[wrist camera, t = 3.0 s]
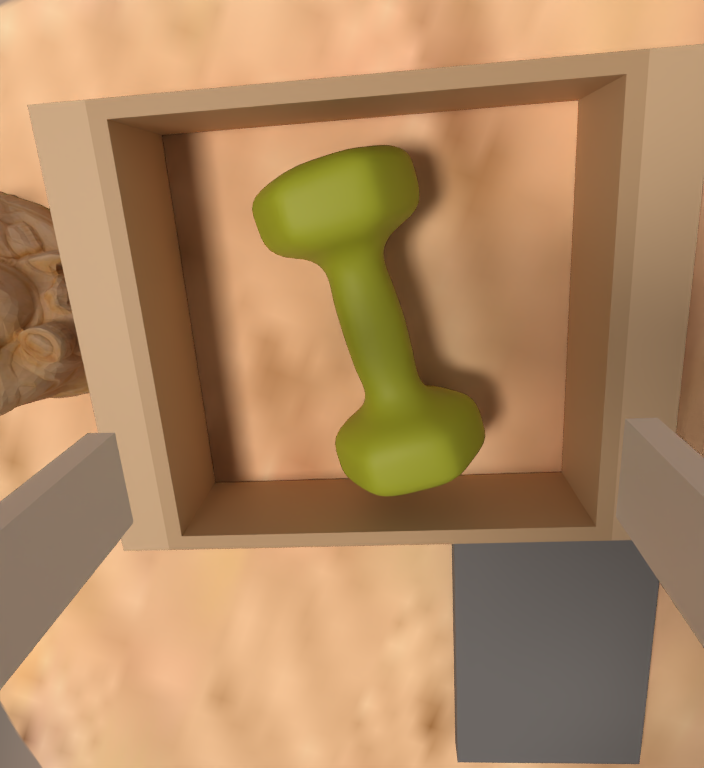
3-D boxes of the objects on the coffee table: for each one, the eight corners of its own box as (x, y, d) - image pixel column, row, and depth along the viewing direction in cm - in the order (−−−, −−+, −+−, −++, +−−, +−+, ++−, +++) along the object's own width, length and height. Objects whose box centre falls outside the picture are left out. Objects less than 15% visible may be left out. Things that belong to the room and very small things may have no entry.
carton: (166, 495, 36) (123, 550, 30) (97, 123, 30) (27, 104, 24) (618, 482, 34) (664, 539, 28) (650, 75, 27) (718, 42, 22)
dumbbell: (480, 428, 34) (503, 486, 27) (351, 460, 35) (340, 524, 28) (406, 138, 29) (410, 119, 22) (260, 187, 30) (221, 183, 23)
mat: (455, 742, 41) (457, 762, 39) (451, 505, 35) (453, 517, 34) (630, 743, 40) (639, 764, 38) (655, 499, 34) (666, 512, 33)
